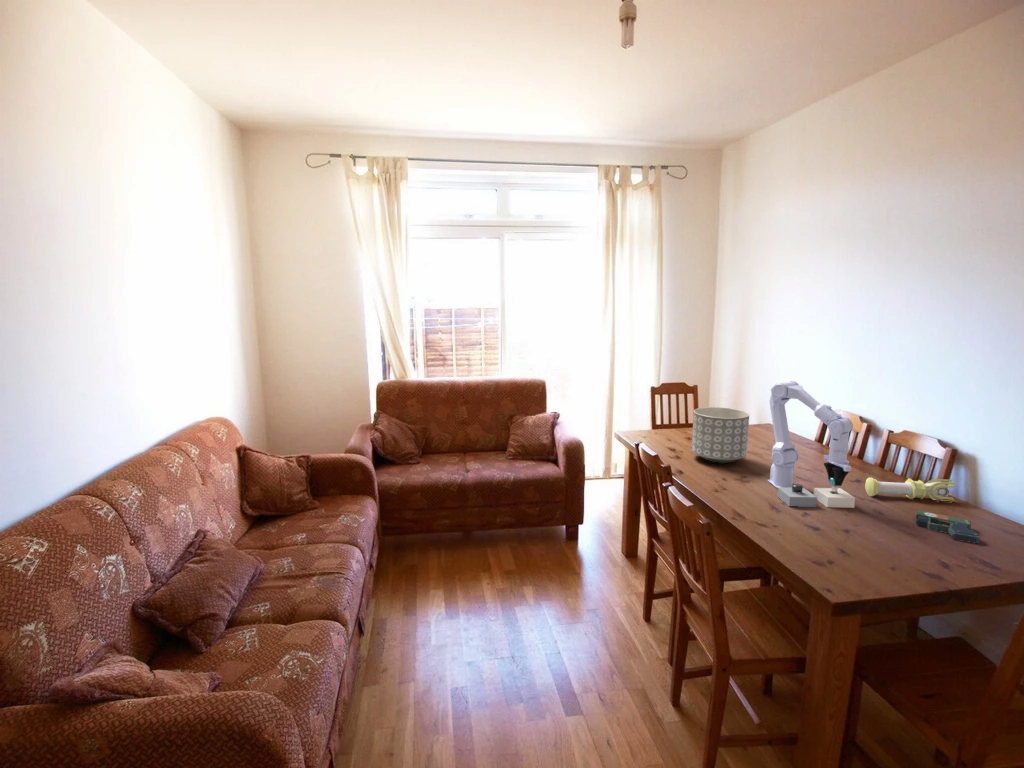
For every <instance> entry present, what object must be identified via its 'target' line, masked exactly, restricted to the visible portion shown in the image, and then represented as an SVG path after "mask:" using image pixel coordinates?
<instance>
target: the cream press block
mask: <svg viewBox="0 0 1024 768" xmlns="http://www.w3.org/2000/svg"><path fill="white" fill-rule="evenodd" d="M831 489H832V487H814V488H813V493H812V494H813V495H815V496H816V497H817V502H819V503H821V504H822V505H823V506H825V507H826V508H853V509H855V505H856V504H855V503H856V497H855V496H853V495H851V494H850V493H848V492H847V491H846V490H844V489H842V488H841V487H838V491H837V494H832V493H831Z"/></svg>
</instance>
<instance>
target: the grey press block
mask: <svg viewBox="0 0 1024 768" xmlns="http://www.w3.org/2000/svg"><path fill="white" fill-rule="evenodd" d="M813 494H814V493H811V492H810V491H809V490H808V489H806V488H805V487H803V490H802V492H800V494H795V493H794V491H792V488H780V487H778V488H777V493H776V496H778V497H779V498H780V499H781V500H780V499H779V498H778V497H777V498H778V499H779V500H780V501H782V502H783V501H784V502H785V503H786V504H787V505H786V504H785V503H784V502H783V503H784V504H785V505H786V506H787V507H789V506H798V507H797V508H817V502H818V500H817V497H816V496H815V495H813Z"/></svg>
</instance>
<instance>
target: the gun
mask: <svg viewBox="0 0 1024 768" xmlns="http://www.w3.org/2000/svg"><path fill="white" fill-rule="evenodd" d="M915 515H916V517H915V525H916V524H917V525H918V527H922V526H923V527H924V528H926V529H927V528H928V529H927V530H929V529H931V530H930V531H933V530H936V531H935V532H939V531H943V532H942V533H944V532H948V533H947V534H948V535H949V536H950V535H951V536H950V538H951V540H954V539H959V540H964V541H963V542H965V541H970V542H975V543H978V542H979V543H980V539H981V536H980V534H979V533H978V532H977V531H975V530H973V529H971V527H972V523H971V522H972V521H971V520H970V519H966V518H961V517H957V516H956V517H955V516H950V515H945V514H940V513H935V512H930V511H925V510H922V509H921V510H920V509H916V514H915ZM917 525H916V526H917ZM923 527H922V528H923ZM937 530H938V531H937ZM959 540H958V541H959ZM970 542H969V543H970ZM975 543H974V544H975ZM979 543H978V544H979Z"/></svg>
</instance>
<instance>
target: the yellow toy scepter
mask: <svg viewBox="0 0 1024 768" xmlns="http://www.w3.org/2000/svg"><path fill="white" fill-rule="evenodd" d="M958 483H959V482H953V479H946V478H945V479H944V478H933V479H930V480H928V481H927V482H923V481H922V480H920V479H918V480H913V479H912V478H910V477H909V478H907V479H906V480H905V481H904V482H893V481H892V482H890V481H889V482H888V481H879V480H877V479H875V478H873V477H867V478H866V480H865V486H864V489H865V491H866V494H867V495H868V497H874V496H877V495H878V494H889V495H890V494H891V495H905V496H906V497H907V498H908V499H910V500H911V499H912V500H914V498H915V499H916V498H918V499H920V500H924V499H925V497H926V496H927V498H930V499H931V500H933V501H934V500H941V501H955V499H954V498H953V497H949V495H950V489H951V488H954V489H955V487H956V485H958Z"/></svg>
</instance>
